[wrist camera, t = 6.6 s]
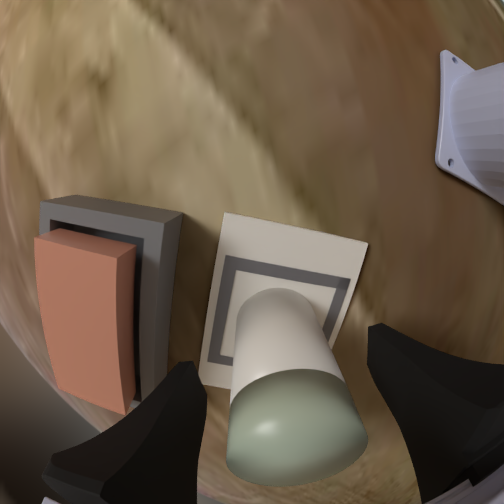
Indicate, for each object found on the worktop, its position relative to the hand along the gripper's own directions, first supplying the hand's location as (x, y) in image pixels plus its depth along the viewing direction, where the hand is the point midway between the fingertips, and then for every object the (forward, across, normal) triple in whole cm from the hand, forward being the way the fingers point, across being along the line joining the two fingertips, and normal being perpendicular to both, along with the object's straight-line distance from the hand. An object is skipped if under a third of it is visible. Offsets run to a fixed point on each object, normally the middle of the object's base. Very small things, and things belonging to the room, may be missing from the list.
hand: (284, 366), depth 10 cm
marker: (+3, 0, 0) cm, 4 cm away
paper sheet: (+4, 0, 0) cm, 4 cm away
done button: (+1, +8, -3) cm, 9 cm away
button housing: (+4, +8, -3) cm, 9 cm away
